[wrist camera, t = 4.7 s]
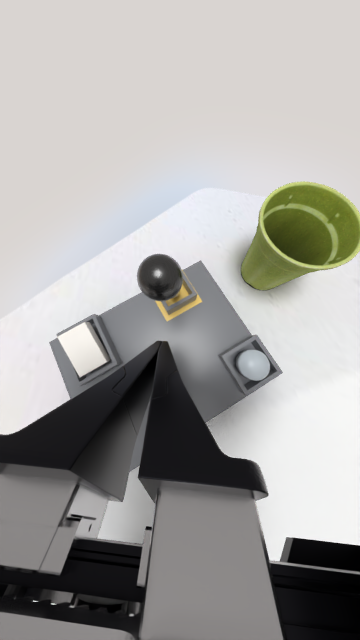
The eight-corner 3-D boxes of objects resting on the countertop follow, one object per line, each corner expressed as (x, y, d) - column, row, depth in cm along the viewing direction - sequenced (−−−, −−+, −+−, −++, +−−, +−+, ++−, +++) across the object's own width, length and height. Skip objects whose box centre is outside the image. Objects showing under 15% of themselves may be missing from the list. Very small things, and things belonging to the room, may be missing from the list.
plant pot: (283, 240, 22) (343, 175, 14) (301, 296, 21) (384, 260, 12) (224, 248, 22) (249, 187, 14) (237, 305, 21) (275, 275, 12)
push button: (269, 369, 15) (276, 370, 14) (246, 383, 15) (251, 386, 14) (252, 344, 16) (258, 344, 15) (230, 358, 16) (234, 359, 15)
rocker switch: (110, 359, 16) (106, 361, 15) (85, 374, 16) (79, 377, 15) (89, 322, 16) (84, 322, 15) (64, 336, 16) (57, 336, 15)
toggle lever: (184, 303, 18) (180, 302, 7) (163, 301, 18) (129, 299, 7) (185, 281, 17) (184, 247, 7) (164, 280, 17) (130, 244, 7)
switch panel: (266, 371, 19) (292, 378, 14) (115, 467, 17) (91, 509, 13) (198, 269, 22) (202, 250, 17) (65, 342, 20) (32, 340, 16)
